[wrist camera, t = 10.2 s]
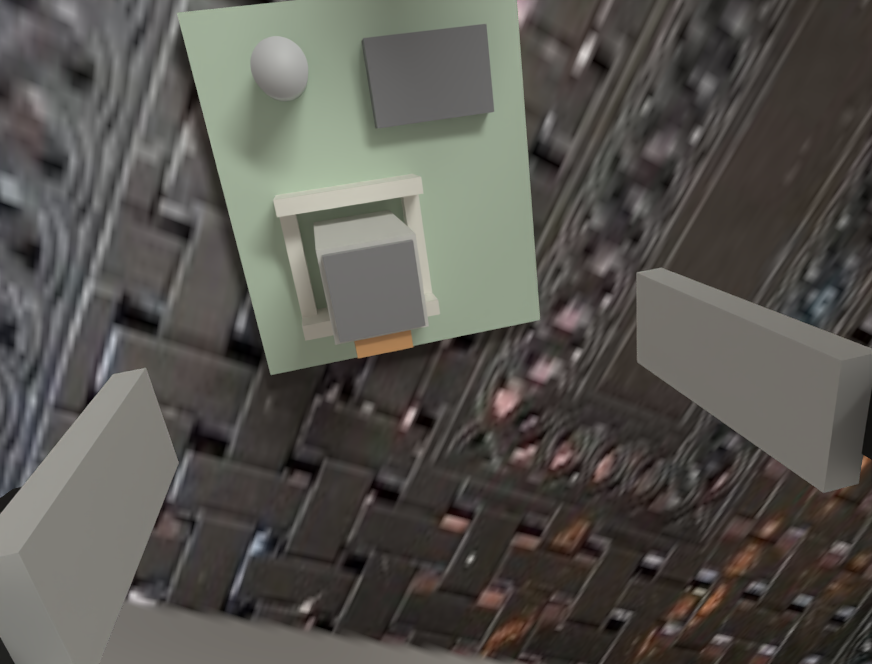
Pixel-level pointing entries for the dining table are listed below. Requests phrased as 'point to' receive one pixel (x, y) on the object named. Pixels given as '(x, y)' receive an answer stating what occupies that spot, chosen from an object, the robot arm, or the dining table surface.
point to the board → (370, 154)
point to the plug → (371, 281)
